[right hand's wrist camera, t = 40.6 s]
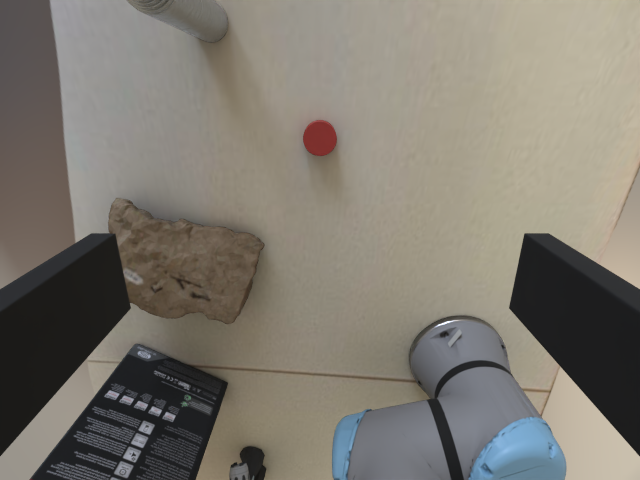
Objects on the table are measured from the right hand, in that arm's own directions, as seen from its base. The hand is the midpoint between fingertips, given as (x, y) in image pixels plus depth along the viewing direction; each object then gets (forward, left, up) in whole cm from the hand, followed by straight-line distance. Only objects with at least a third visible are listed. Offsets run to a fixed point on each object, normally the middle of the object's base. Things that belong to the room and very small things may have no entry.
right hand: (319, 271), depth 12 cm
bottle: (+10, +16, -41) cm, 45 cm away
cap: (0, 0, -38) cm, 38 cm away
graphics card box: (-44, +13, -41) cm, 61 cm away
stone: (-22, +14, -41) cm, 48 cm away
